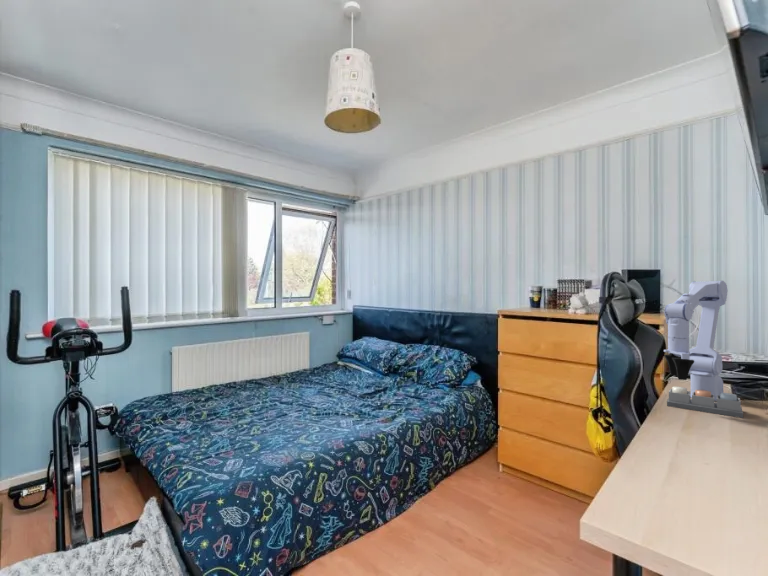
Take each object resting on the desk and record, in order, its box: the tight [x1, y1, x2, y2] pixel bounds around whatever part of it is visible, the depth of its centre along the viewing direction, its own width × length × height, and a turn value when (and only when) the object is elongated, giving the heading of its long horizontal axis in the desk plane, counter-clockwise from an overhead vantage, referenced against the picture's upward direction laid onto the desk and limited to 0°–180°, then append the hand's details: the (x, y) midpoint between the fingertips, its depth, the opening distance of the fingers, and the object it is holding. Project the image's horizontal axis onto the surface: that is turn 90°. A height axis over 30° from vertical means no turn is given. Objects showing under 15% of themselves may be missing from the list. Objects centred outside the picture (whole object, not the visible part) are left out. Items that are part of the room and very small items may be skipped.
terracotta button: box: [695, 390, 711, 398], centre depth 124 cm, size 4×4×3 cm
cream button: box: [671, 386, 688, 394], centre depth 128 cm, size 4×4×3 cm
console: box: [666, 388, 744, 419], centre depth 124 cm, size 19×9×4 cm, turn 48°
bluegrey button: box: [720, 392, 738, 401], centre depth 120 cm, size 4×4×3 cm
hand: (678, 377), depth 127 cm, fingers open, 7 cm apart
